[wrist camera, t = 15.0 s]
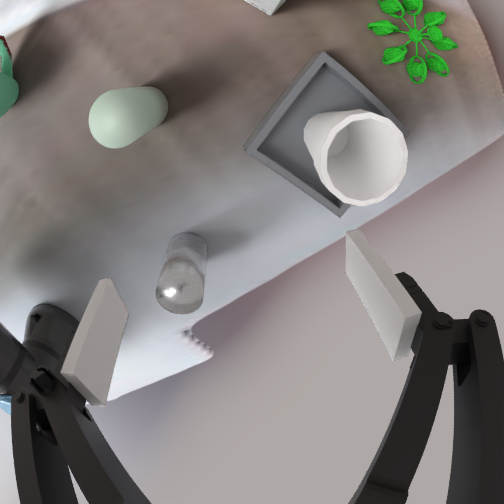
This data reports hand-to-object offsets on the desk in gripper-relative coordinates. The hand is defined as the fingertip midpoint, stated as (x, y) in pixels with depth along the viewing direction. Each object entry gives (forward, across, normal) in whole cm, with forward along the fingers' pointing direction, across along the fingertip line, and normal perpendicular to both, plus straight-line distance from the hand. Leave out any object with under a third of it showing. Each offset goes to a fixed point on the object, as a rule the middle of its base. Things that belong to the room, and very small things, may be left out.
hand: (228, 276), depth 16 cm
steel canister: (+27, +8, +13) cm, 31 cm away
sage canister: (+27, +8, -9) cm, 29 cm away
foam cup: (+26, -14, -1) cm, 29 cm away
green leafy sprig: (+26, -29, -15) cm, 42 cm away
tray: (+26, -14, -1) cm, 30 cm away
